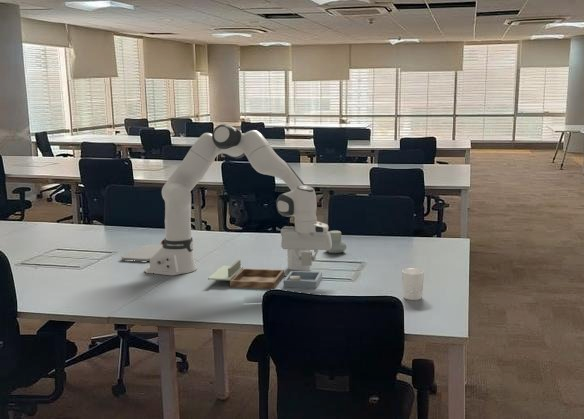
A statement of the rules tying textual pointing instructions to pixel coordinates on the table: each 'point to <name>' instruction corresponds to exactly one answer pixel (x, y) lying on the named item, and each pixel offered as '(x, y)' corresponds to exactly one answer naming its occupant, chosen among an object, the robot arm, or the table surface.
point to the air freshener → (336, 242)
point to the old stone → (295, 278)
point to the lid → (226, 272)
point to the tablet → (142, 253)
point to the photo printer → (296, 261)
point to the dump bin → (303, 279)
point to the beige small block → (306, 258)
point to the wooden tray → (257, 278)
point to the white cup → (412, 283)
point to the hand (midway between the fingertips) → (306, 260)
